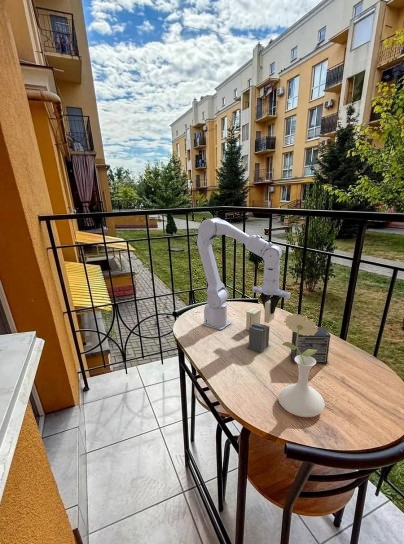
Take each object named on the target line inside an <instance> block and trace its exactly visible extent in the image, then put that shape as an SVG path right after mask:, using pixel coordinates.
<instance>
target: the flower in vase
mask: <svg viewBox="0 0 404 544" xmlns="http://www.w3.org/2000/svg"><path fill="white" fill-rule="evenodd" d="M283 322H284V323H285V327H287V328H288V330H291V331H292V332H297V338H296V346H295V345H293V344H292V342H289V341H286V342H283V343H282V344H281V345H282V346H285V347H287V348H289V349H290V350H291V349H292V350H295V349H296V348H297V350H298V352H299V354H300V355H298V356H296V357H295V359H294V360H295V362H296V363H295V364H296V365H297V367H298V368H297V369H298V378H297V379H298V380H297V382H296V383H292V384H289V385H285V386H284V387H283V388H281V390H280V391H279V393H278V397H277V399H278V402H279V404H280V405H281V407H282V408H283V409H284V410H285V411H286V412H287V413H289V414H291V415H294V416H296V417H301V418H314V417H316V416H318V415H320V414H321V413H323V411H324V410H325V407H326V405H325V400H324V398H323V396H322V395H321V394H320V392H318V390H316V389H315V388H313V387H312V386H310V385H309V376H310V372H311V369H312V368H313V367H314V366H315V365H316V360H315V359H314V358H313V357H311V355H313V354H315V353H316V352H317V350H313V349H308V350H306V351H305V352H304V353H302V354H301V353H300V351H299V349H298V347H297V340H298V335H299V334H301V335H304V336H305V335H307V336H309V335H315V333H316V332H317V331H318V330H317V327H318V326H316V325H317V323H316V322H314V320H312V319H308V316H307V315H301V314H300V313H299V314H296V313H292V314H288V315H286V316H285V318H284V320H283Z"/></svg>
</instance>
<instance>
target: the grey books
mask: <svg viewBox="0 0 404 544" xmlns="http://www.w3.org/2000/svg"><path fill="white" fill-rule="evenodd" d="M269 343H270V325H266V324H263V323H260V324H259V323H253V324H252V326H251V327H249V330H248V349H249V350H252V351H254V352H258V353H263V352H264V351H265V350H266V349H267V348H269Z"/></svg>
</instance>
